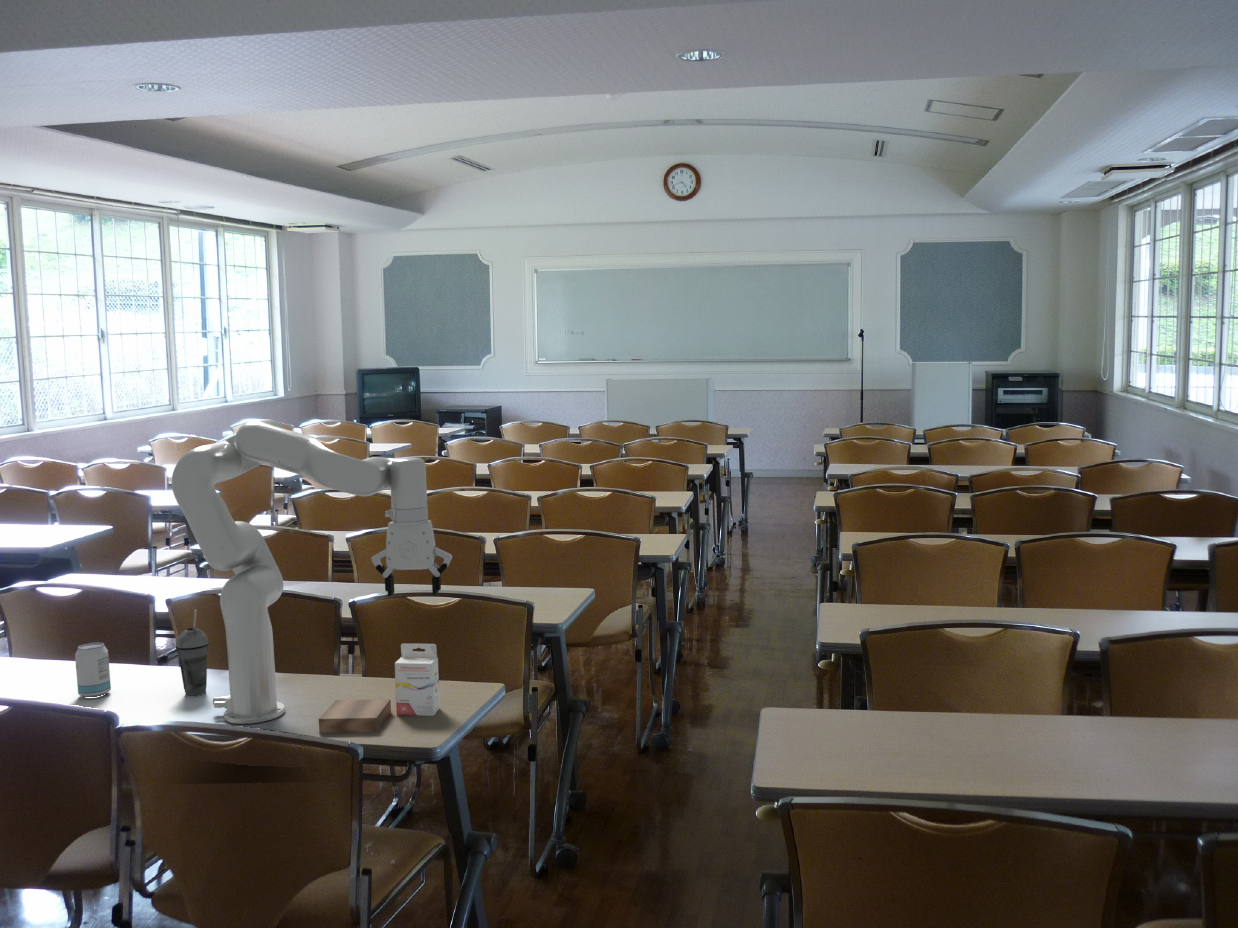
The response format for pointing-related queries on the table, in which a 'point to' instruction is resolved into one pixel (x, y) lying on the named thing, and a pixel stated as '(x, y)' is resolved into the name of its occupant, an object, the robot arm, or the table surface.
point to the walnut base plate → (355, 716)
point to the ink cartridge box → (417, 680)
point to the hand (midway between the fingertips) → (413, 594)
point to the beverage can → (92, 670)
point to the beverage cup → (193, 659)
